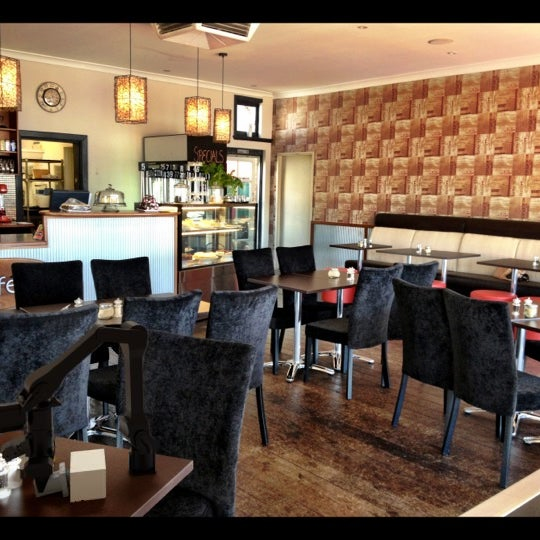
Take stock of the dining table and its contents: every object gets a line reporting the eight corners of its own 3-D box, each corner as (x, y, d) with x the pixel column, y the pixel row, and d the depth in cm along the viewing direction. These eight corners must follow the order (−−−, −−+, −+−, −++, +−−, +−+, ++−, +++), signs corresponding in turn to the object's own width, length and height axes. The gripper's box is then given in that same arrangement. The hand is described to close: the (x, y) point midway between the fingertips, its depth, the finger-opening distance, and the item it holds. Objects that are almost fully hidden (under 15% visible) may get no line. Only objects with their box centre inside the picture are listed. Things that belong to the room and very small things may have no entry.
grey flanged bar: (93, 477, 146) (89, 455, 145) (94, 488, 140) (90, 465, 139) (37, 492, 142) (33, 469, 141) (36, 504, 136) (32, 480, 135)
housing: (104, 475, 149) (103, 448, 149) (105, 497, 138) (105, 468, 137) (71, 479, 147) (71, 452, 146) (70, 502, 136) (70, 472, 135)
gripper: (7, 415, 143) (9, 475, 145) (-3, 445, 126) (-1, 513, 127) (55, 411, 147) (56, 470, 149) (52, 439, 129) (53, 506, 131)
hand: (41, 488), depth 139 cm, fingers closed on grey flanged bar, 4 cm apart
